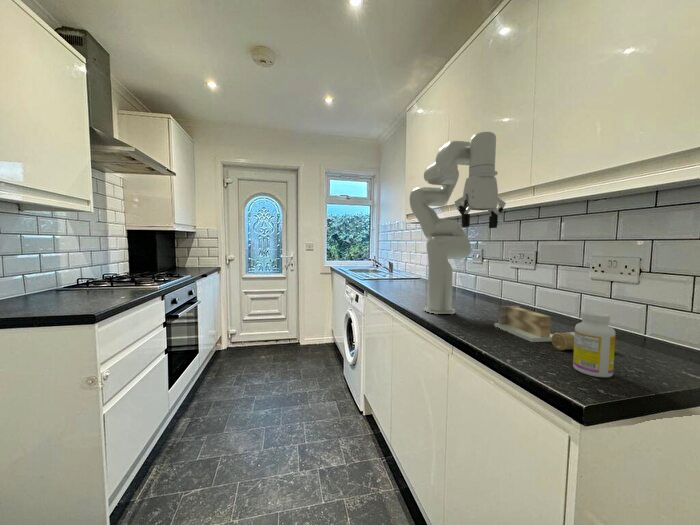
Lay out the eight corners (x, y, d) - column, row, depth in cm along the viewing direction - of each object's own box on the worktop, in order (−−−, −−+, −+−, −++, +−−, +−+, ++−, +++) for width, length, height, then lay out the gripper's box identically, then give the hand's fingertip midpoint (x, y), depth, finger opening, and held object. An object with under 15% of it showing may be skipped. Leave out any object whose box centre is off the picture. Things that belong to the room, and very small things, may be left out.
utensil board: (494, 326, 96) (494, 323, 96) (517, 325, 97) (517, 322, 97) (531, 342, 80) (532, 338, 80) (559, 340, 82) (559, 336, 82)
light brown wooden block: (555, 336, 82) (556, 316, 81) (534, 337, 80) (535, 317, 80) (516, 322, 97) (517, 305, 96) (498, 323, 95) (499, 306, 95)
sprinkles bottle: (557, 353, 74) (600, 351, 76) (569, 344, 71) (613, 342, 73) (547, 337, 77) (588, 336, 80) (557, 329, 74) (600, 327, 76)
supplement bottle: (599, 367, 64) (603, 311, 63) (621, 380, 57) (625, 318, 56) (566, 364, 65) (569, 309, 64) (583, 376, 59) (587, 316, 58)
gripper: (497, 178, 95) (495, 229, 96) (450, 175, 92) (448, 227, 93) (514, 172, 88) (511, 227, 89) (463, 169, 85) (461, 226, 86)
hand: (479, 227), depth 91 cm, fingers open, 9 cm apart
